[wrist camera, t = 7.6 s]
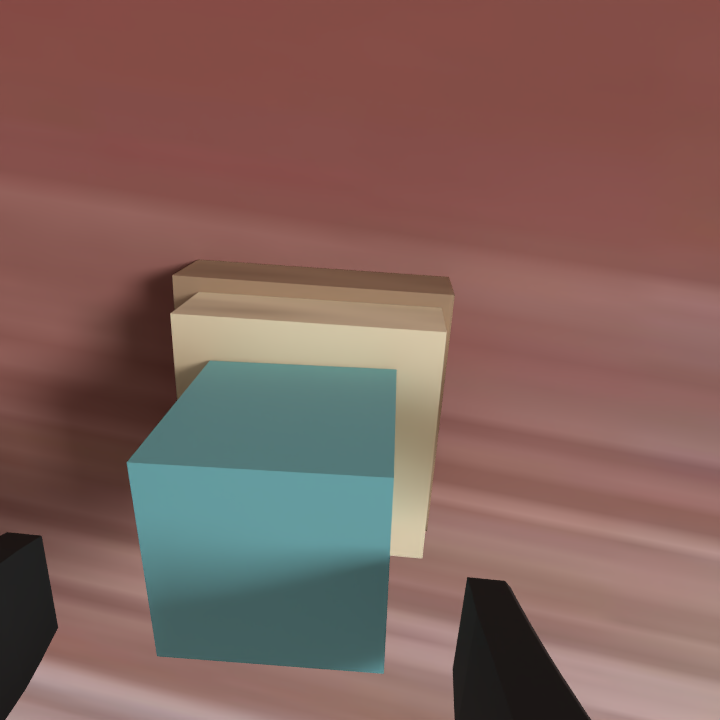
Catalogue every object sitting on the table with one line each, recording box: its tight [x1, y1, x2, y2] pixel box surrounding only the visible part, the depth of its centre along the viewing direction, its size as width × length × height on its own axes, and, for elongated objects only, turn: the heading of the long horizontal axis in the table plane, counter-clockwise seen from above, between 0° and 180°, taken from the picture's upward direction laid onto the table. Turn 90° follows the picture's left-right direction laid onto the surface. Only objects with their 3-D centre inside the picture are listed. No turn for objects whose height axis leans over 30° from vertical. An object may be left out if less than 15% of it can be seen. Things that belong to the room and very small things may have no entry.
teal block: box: [127, 361, 397, 674], centre depth 12 cm, size 4×4×4 cm
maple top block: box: [170, 292, 447, 558], centre depth 15 cm, size 6×6×2 cm
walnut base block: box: [172, 260, 455, 531], centre depth 18 cm, size 8×8×2 cm
